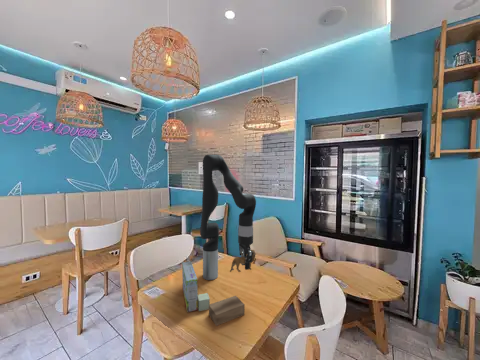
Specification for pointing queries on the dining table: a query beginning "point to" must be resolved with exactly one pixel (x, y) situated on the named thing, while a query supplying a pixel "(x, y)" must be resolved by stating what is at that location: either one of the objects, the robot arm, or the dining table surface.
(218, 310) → the taupe rectangular block
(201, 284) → the dining table surface
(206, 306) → the sage cube
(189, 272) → the snack box
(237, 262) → the lion figurine
